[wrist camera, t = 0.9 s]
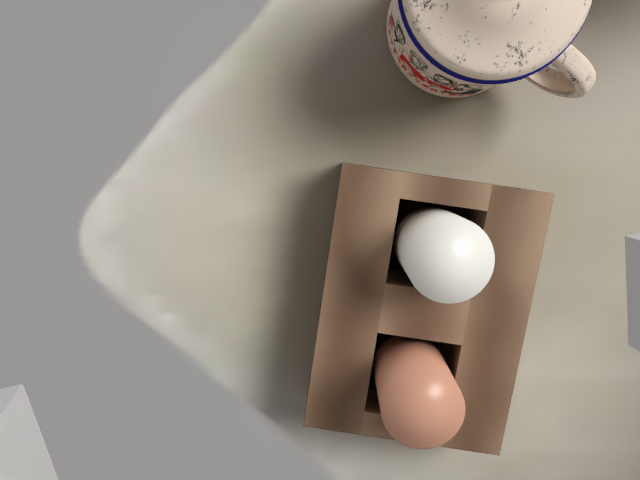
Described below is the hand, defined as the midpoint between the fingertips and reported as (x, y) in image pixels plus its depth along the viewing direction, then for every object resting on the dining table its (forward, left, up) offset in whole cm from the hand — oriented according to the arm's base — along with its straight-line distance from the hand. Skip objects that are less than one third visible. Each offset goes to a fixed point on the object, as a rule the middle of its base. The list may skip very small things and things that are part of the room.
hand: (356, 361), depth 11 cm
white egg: (-5, 0, -22) cm, 22 cm away
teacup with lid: (-6, -13, -24) cm, 28 cm away
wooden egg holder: (-5, +4, -24) cm, 25 cm away
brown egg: (-5, +8, -22) cm, 24 cm away
